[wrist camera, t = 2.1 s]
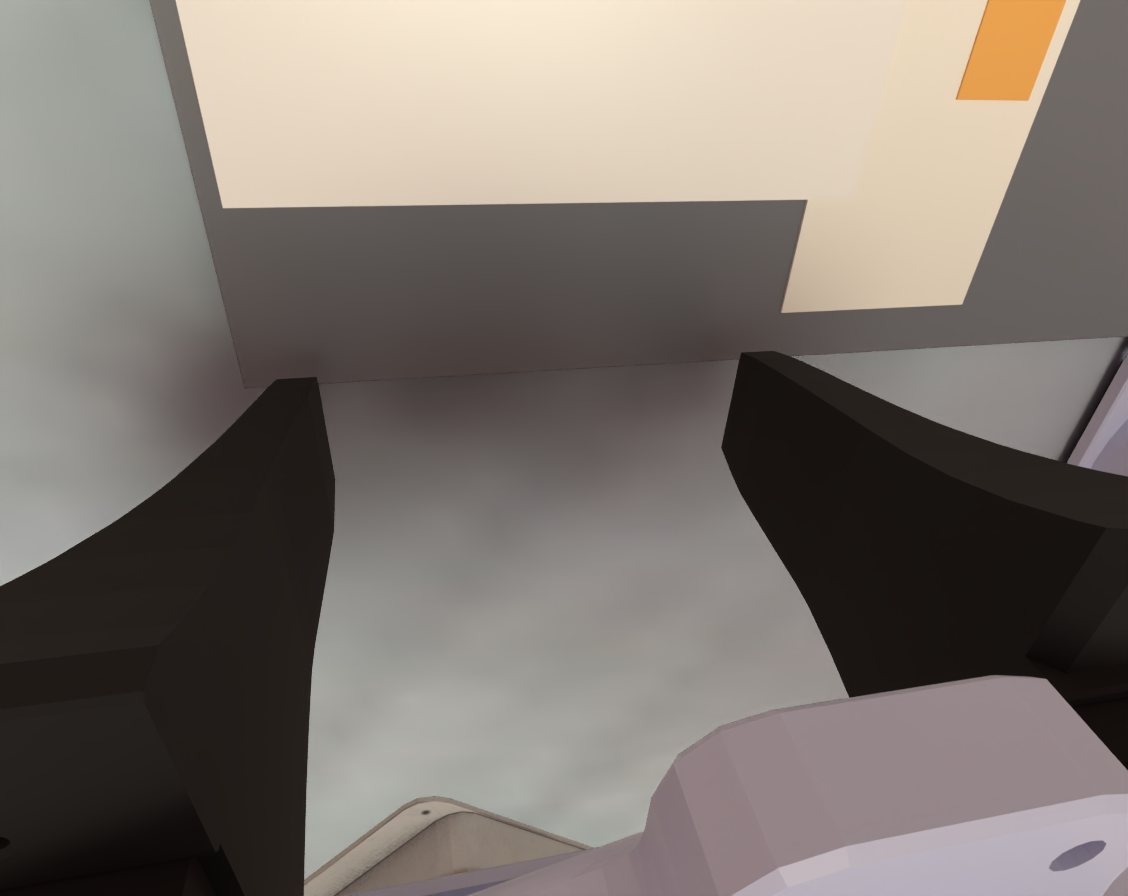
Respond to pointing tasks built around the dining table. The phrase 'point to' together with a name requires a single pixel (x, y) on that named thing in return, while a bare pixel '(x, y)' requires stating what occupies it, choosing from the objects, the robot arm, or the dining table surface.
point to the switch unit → (729, 233)
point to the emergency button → (432, 847)
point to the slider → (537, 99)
